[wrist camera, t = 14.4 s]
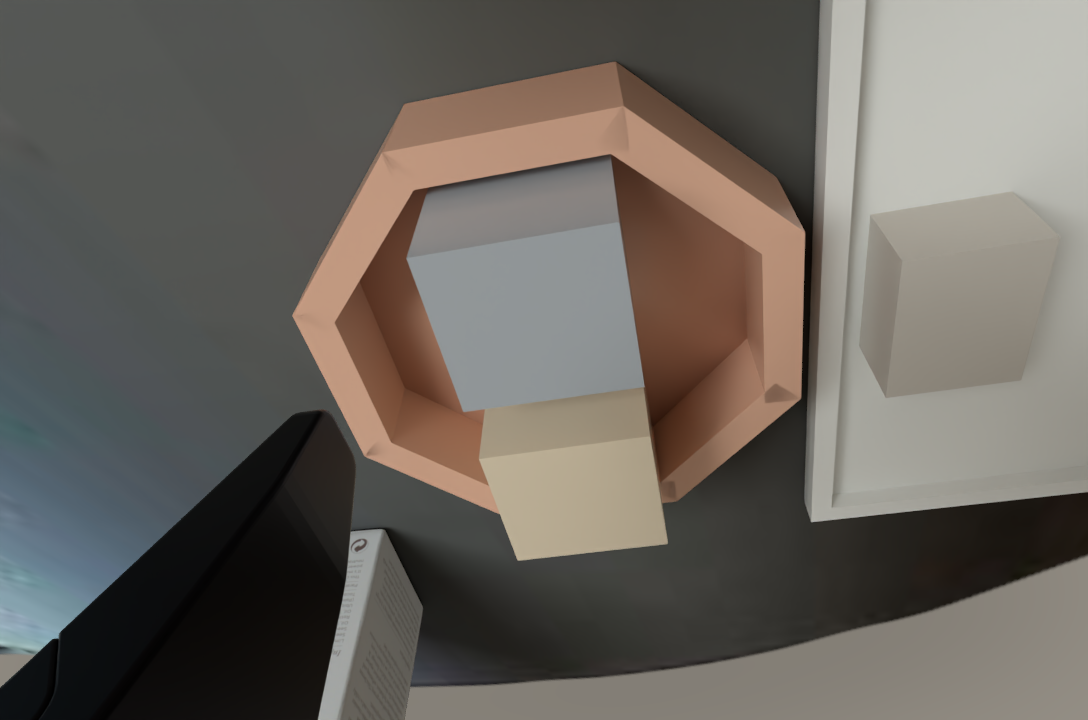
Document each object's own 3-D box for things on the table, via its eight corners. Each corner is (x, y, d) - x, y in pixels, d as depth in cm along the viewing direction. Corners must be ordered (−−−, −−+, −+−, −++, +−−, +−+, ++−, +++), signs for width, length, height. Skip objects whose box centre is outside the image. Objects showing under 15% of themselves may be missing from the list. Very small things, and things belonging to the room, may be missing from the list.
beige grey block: (1011, 191, 19) (1060, 236, 17) (982, 328, 22) (1021, 380, 20) (870, 214, 20) (902, 261, 18) (859, 345, 23) (885, 397, 21)
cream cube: (634, 317, 22) (650, 436, 18) (651, 421, 25) (668, 544, 21) (493, 340, 23) (478, 459, 19) (524, 439, 25) (517, 560, 21)
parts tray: (1473, -249, 14) (1528, -250, 13) (1148, 462, 26) (1166, 483, 25) (823, -103, 16) (836, -96, 15) (804, 500, 28) (811, 522, 27)
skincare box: (285, 534, 30) (161, 882, 21) (386, 524, 29) (305, 876, 20) (336, 616, 34) (251, 941, 24) (426, 608, 33) (374, 938, 24)
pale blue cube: (606, 124, 18) (619, 221, 14) (628, 272, 21) (644, 386, 17) (438, 157, 19) (406, 258, 15) (480, 296, 22) (463, 411, 18)
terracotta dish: (775, 29, 17) (809, 69, 15) (777, 420, 25) (798, 487, 23) (264, 131, 19) (223, 182, 17) (417, 466, 27) (404, 533, 25)
